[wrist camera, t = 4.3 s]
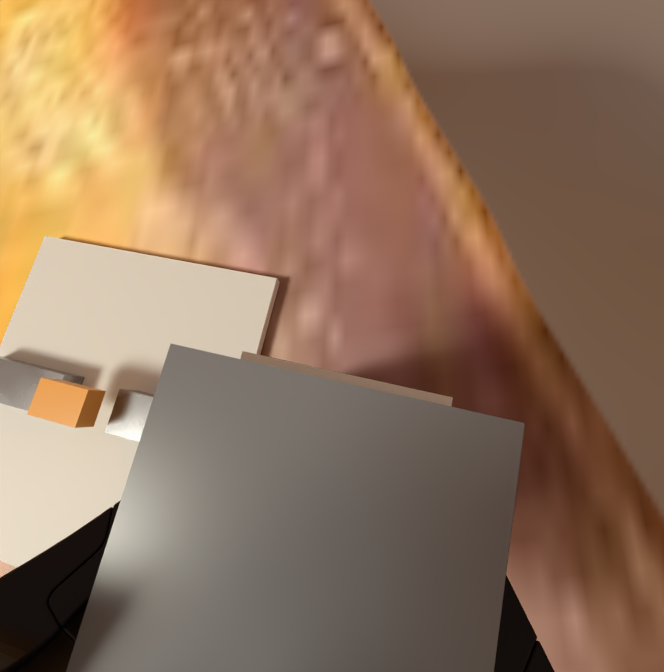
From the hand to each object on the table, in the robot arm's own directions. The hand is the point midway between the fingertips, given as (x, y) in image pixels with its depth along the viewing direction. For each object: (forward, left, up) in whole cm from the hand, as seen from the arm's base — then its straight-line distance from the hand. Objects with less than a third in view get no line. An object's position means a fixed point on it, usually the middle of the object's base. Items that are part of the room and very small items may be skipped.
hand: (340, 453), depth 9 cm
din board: (-5, +11, -7) cm, 14 cm away
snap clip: (-5, +11, -5) cm, 13 cm away
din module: (-1, 0, -7) cm, 7 cm away
